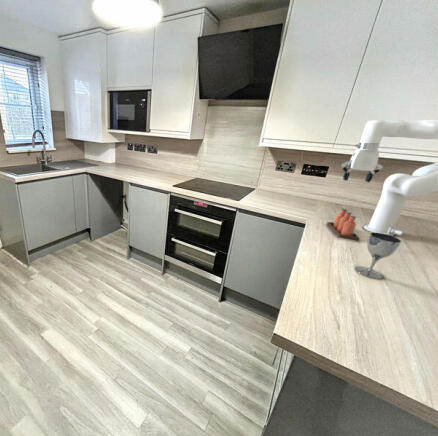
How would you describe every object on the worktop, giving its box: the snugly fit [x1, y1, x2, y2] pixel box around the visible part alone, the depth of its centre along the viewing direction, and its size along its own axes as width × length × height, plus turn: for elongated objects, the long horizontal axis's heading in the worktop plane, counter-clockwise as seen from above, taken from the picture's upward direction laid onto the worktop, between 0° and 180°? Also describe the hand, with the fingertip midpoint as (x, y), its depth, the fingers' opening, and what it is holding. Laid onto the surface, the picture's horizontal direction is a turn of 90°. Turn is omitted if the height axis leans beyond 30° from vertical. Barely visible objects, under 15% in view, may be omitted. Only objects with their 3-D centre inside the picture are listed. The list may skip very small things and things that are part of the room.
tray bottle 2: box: [337, 211, 353, 233], centre depth 122 cm, size 4×4×11 cm
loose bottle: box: [341, 214, 357, 236], centre depth 117 cm, size 4×4×11 cm
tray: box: [326, 221, 361, 242], centre depth 124 cm, size 19×8×2 cm, turn 159°
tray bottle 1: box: [333, 207, 348, 229], centre depth 127 cm, size 4×4×11 cm
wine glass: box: [356, 232, 402, 280], centre depth 86 cm, size 8×8×15 cm
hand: (356, 180), depth 123 cm, fingers open, 9 cm apart
